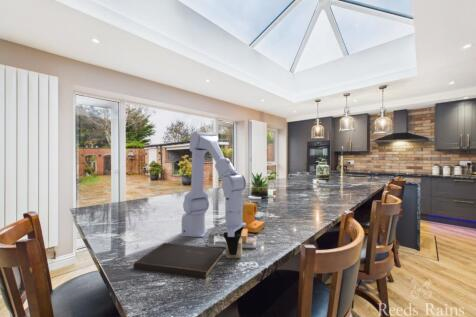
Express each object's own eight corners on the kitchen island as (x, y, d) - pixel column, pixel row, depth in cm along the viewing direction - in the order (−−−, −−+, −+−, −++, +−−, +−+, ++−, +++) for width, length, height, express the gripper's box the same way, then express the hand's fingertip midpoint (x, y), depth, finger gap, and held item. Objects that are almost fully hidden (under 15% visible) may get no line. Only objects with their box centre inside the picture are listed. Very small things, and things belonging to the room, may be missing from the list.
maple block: (225, 257, 73) (225, 242, 73) (227, 252, 77) (227, 238, 77) (241, 258, 73) (240, 242, 73) (242, 253, 77) (242, 238, 76)
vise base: (206, 246, 82) (206, 235, 82) (213, 236, 92) (212, 227, 92) (255, 248, 80) (255, 237, 80) (256, 238, 90) (256, 228, 90)
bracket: (255, 234, 95) (255, 206, 95) (240, 232, 98) (240, 204, 98) (264, 227, 104) (264, 201, 104) (250, 225, 108) (250, 200, 107)
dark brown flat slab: (164, 249, 81) (164, 242, 81) (224, 255, 76) (224, 249, 76) (133, 270, 66) (133, 263, 66) (205, 281, 60) (205, 272, 60)
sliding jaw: (240, 243, 82) (240, 235, 82) (242, 235, 90) (242, 228, 90) (246, 243, 81) (246, 236, 81) (247, 236, 89) (247, 229, 89)
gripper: (243, 216, 67) (244, 261, 67) (247, 205, 81) (247, 242, 82) (220, 215, 68) (221, 260, 68) (228, 205, 82) (228, 242, 82)
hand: (234, 250), depth 75 cm, fingers open, 5 cm apart
